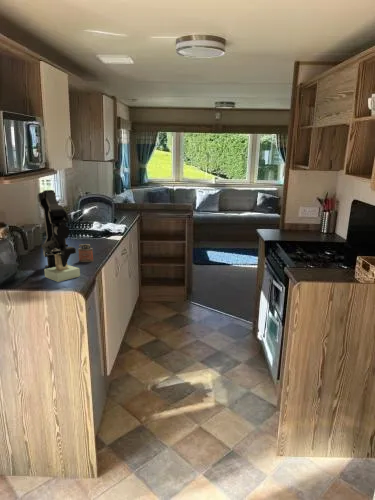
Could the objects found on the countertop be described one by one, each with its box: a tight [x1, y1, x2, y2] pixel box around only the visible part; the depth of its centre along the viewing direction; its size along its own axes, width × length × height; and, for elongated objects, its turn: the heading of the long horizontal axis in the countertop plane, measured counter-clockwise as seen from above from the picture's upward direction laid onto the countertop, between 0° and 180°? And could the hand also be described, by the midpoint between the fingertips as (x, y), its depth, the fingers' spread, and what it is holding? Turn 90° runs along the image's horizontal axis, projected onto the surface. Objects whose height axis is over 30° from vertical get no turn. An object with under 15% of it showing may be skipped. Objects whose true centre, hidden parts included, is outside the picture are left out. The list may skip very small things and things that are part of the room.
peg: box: [55, 253, 68, 271], centre depth 186 cm, size 4×4×10 cm
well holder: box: [44, 264, 81, 283], centre depth 187 cm, size 12×12×4 cm
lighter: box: [77, 243, 94, 263], centre depth 216 cm, size 8×3×10 cm, turn 92°
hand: (61, 265), depth 186 cm, fingers open, 4 cm apart
